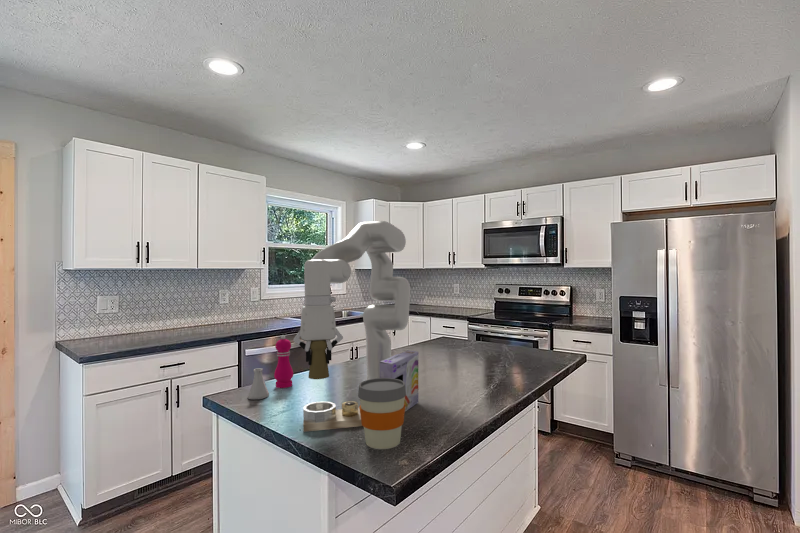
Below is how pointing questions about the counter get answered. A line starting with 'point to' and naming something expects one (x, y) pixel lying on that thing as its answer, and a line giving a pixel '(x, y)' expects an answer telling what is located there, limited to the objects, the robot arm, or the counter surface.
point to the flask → (258, 386)
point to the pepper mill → (283, 364)
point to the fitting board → (334, 422)
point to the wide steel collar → (319, 412)
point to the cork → (318, 360)
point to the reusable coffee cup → (382, 411)
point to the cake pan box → (403, 374)
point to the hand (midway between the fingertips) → (318, 362)
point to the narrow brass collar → (349, 409)
